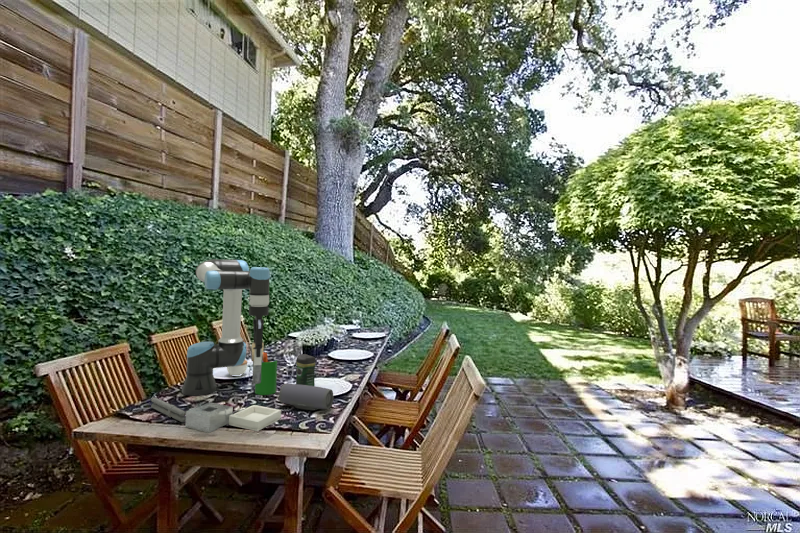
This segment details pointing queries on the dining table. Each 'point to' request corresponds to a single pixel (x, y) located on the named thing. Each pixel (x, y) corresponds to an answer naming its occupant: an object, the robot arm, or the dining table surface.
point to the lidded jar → (237, 369)
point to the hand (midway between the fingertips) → (257, 363)
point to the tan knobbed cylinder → (256, 367)
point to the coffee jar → (305, 370)
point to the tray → (255, 417)
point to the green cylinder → (267, 377)
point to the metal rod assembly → (168, 409)
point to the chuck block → (208, 417)
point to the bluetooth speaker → (306, 396)
